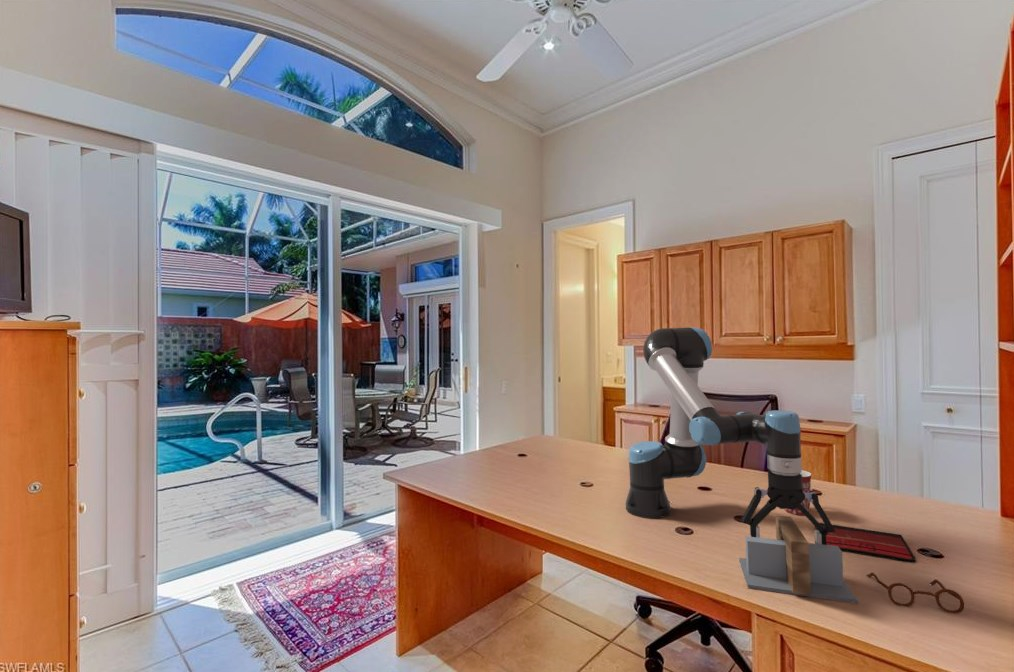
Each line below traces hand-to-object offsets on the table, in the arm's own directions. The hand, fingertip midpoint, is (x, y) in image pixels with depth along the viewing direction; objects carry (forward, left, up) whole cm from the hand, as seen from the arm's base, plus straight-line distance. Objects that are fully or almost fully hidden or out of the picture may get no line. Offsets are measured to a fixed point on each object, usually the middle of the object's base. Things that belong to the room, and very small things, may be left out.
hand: (787, 554), depth 115 cm
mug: (+13, +47, -4) cm, 49 cm away
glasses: (+24, -3, -5) cm, 25 cm away
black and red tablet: (+23, +23, -5) cm, 33 cm away
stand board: (0, -4, -4) cm, 6 cm away
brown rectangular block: (0, -4, -3) cm, 6 cm away
